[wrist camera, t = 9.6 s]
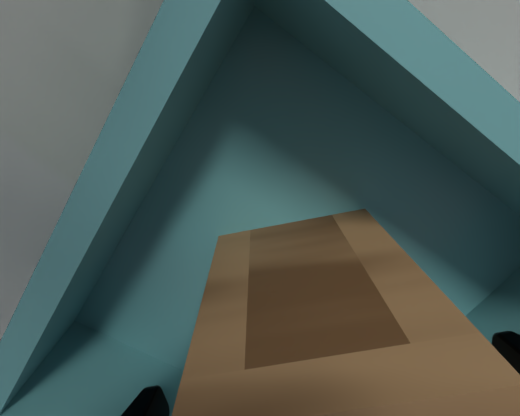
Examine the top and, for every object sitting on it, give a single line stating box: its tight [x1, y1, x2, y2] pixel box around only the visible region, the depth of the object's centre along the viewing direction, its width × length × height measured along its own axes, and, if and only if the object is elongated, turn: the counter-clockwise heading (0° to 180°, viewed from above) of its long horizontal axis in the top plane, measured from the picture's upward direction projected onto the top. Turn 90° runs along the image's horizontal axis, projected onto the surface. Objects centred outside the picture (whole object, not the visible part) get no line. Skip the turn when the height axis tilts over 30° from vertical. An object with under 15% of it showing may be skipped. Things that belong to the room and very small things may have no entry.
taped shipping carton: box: [172, 209, 520, 416], centre depth 9 cm, size 5×5×7 cm
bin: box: [0, 0, 520, 416], centre depth 11 cm, size 15×15×5 cm
